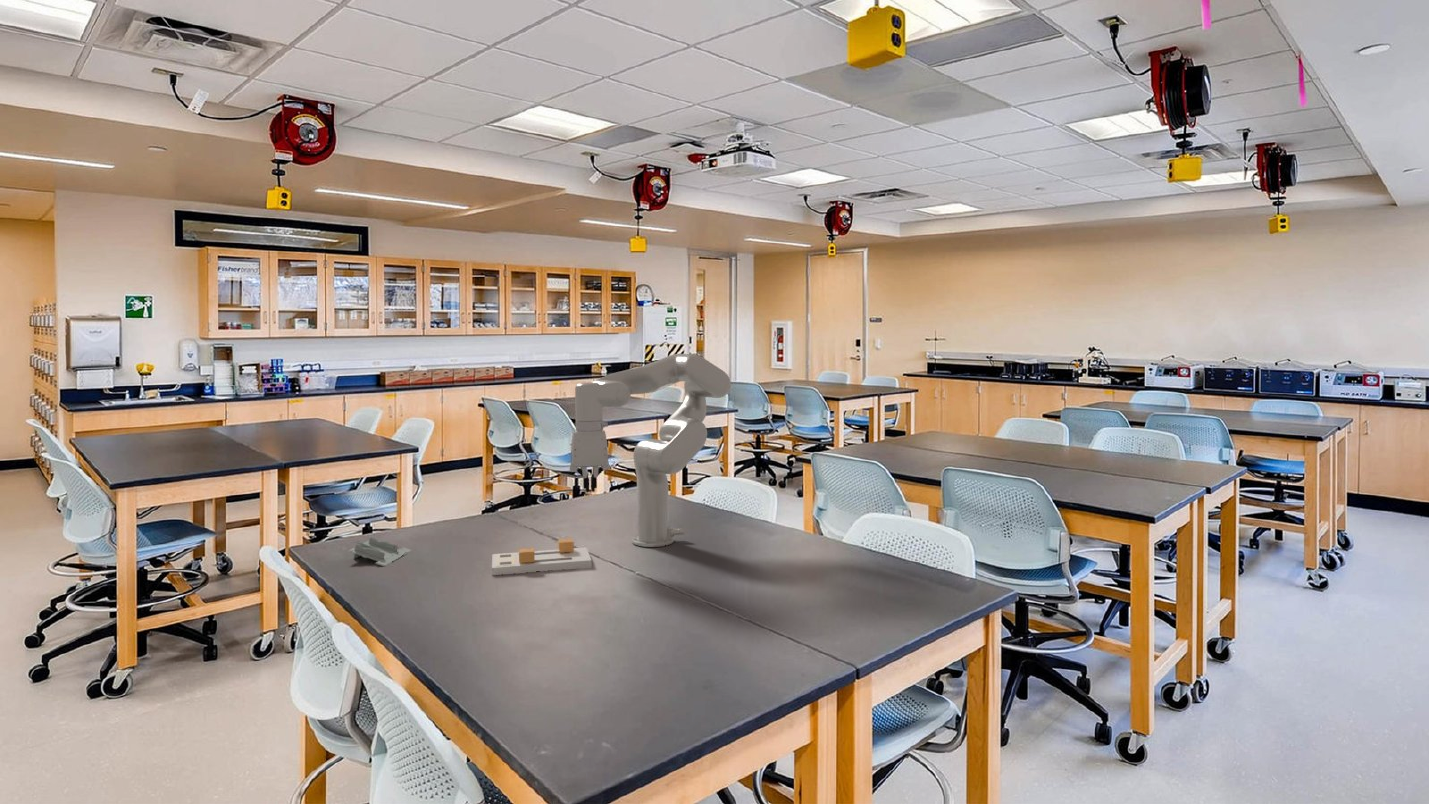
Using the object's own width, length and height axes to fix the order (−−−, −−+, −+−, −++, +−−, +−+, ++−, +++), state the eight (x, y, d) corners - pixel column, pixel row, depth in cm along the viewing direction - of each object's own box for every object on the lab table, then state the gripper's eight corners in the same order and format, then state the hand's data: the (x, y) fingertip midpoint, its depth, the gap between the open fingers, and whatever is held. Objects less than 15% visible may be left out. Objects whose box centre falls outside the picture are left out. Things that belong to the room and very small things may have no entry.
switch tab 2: (572, 548, 217) (572, 538, 217) (573, 551, 214) (573, 541, 214) (558, 549, 216) (558, 539, 216) (559, 552, 213) (559, 542, 213)
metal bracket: (342, 545, 209) (372, 531, 224) (337, 565, 210) (367, 549, 224) (390, 561, 208) (417, 546, 223) (385, 581, 209) (412, 564, 224)
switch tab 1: (534, 558, 208) (533, 548, 208) (534, 561, 204) (534, 551, 204) (518, 559, 207) (518, 549, 207) (519, 563, 203) (519, 552, 203)
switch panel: (586, 554, 220) (586, 546, 220) (591, 567, 207) (591, 559, 207) (492, 561, 213) (492, 553, 213) (492, 575, 201) (491, 567, 200)
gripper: (614, 424, 220) (615, 487, 221) (560, 425, 216) (561, 490, 217) (618, 427, 213) (619, 492, 214) (562, 429, 208) (563, 495, 210)
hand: (590, 490), depth 216 cm, fingers closed
